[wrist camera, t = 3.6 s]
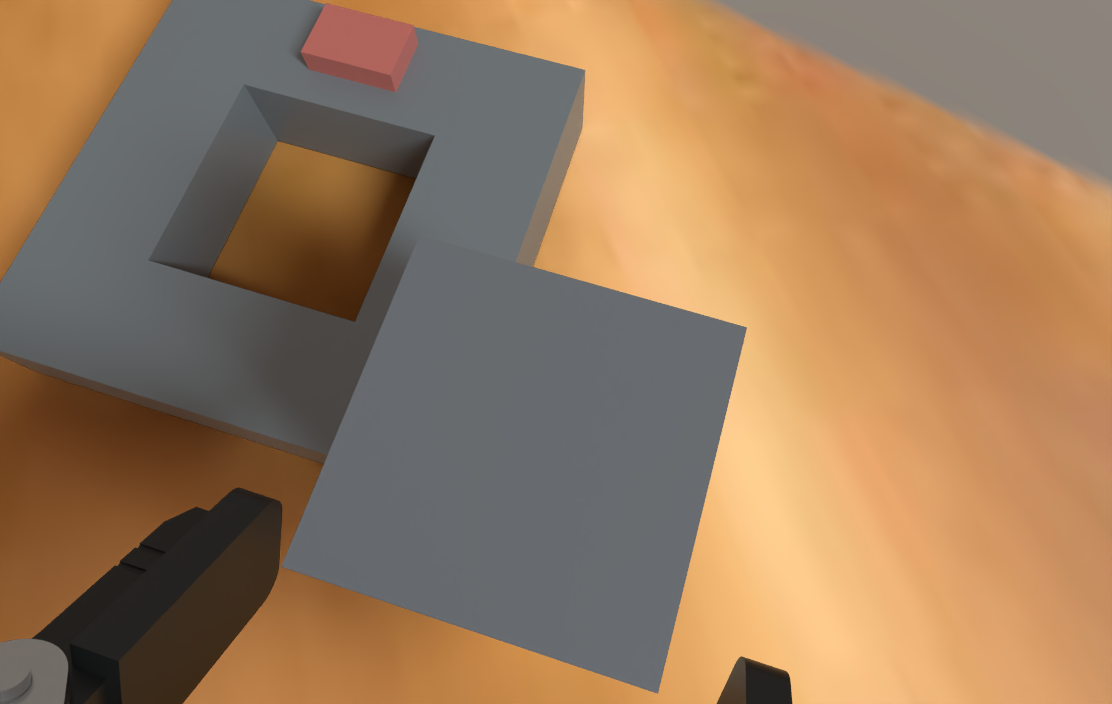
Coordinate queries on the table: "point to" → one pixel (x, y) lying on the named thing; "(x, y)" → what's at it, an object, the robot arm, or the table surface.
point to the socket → (227, 181)
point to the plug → (526, 460)
